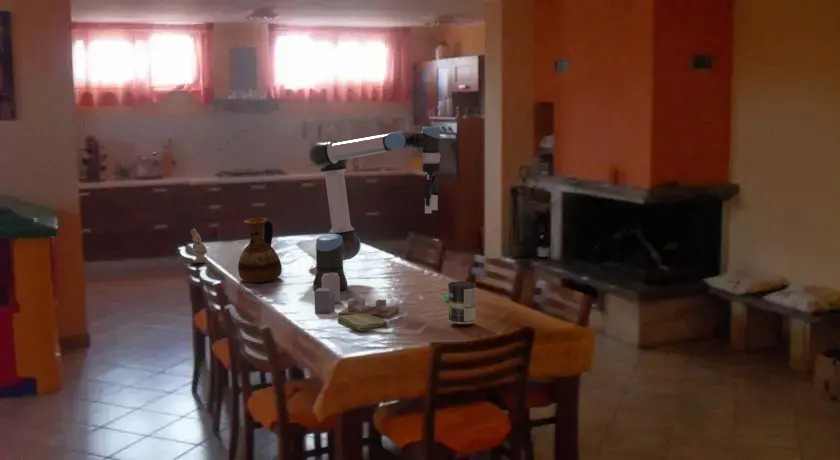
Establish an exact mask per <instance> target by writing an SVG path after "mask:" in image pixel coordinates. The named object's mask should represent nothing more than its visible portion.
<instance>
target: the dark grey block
mask: <svg viewBox="0 0 840 460" xmlns="http://www.w3.org/2000/svg"><path fill="white" fill-rule="evenodd" d="M313 293H314V314H318V315H319V314H320V315H323V314H324V315H330V314H332V313H334V312H335V309H336V308H335V304H336V303H334V288H318V289H317V290H315V289H314V292H313Z"/></svg>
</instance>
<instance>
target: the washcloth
mask: <svg viewBox="0 0 840 460" xmlns="http://www.w3.org/2000/svg"><path fill="white" fill-rule="evenodd" d="M337 323H338V324H340V325H343V326H344V327H346V328H349V329H352V330H355V331H358V332H359V331H360V332H361V331H363V332H364V331H368V330H375V329H377V328H380V327H387V326H388V322H387V320H385V319H384V318H379V317H376V316H372V315H370V314H367V313H365V314H364V313H363V314H355V315H344V316H339V315H338V318H337Z"/></svg>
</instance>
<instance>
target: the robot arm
mask: <svg viewBox="0 0 840 460" xmlns="http://www.w3.org/2000/svg"><path fill="white" fill-rule="evenodd" d="M440 145H441V135H440V128H439V127H438V126H423V127H422V128H421V130H419V131H414V130H412V131H411V130H409V131H408V130H402V131H392V132H389V133H386V134H379V135H372V136H367V137H362V138H357V139H352V140H345V141H339V140H328V141H327V140H326V141H319V142H316V143H314V144H313V145H312V146H311V148H309V149H310V150H309V153H308V154H309V160H310V162H311V164H313V165H314V166H315V167H317V168H320V172H321V174H322V175H324V177H325V179H324V180H325V184H326V185H325V186H326V191H327V192H326V194H327V201H328V208H329V216H330V223H331V229H330V230H329V233H328V234H322V235H319V236H318V237H317V238H316V241H315V242H316V243H315V251H316V254H315V256H316V273H315V276H314V278H313V279H314V280H313V284H312V285H313V286H312V288H313V289H314V291H315V290H317V289H318V288H322V281H321V278H322V276H323V274H324V273H338V276H339V277H340V291H341V290H346V289H348V280H347V278H346V274H345V271H344V261H348V260H351V259H353V258H355V257H356V256H357V255H358V254H359V252H360V251H361V247H362V245H361V240H360V237H359V236H357V234H356V232H355V231H356V230H355V228H354V227H353V226H352V225H351V219H350V210H349V202H348V194H347V187H346V178H345V173H346V171H347V163H348V160H349V159H354V158H360V157H366V156H370V155H377V154H383V153H387V152H395V151H399V150H415V149H418V150H419V149H420V150H421V149H422V156H421V157H422V160H421V161H422V172H423V173H427V174H425V175H424V176H425V178H424V180H425V181H424V189H423V190H424V192H423V195H422V198H423V199H424V214H432V211H438V210H439V209H438V207H439V205H438V201H439V197H438V196H439V195H440V192H439V184H438V173H440V171H441V164H440V161H441V157H442V155H441V154H440V153H441V151H440V149H441V146H440Z"/></svg>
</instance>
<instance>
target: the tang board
mask: <svg viewBox="0 0 840 460" xmlns="http://www.w3.org/2000/svg"><path fill="white" fill-rule="evenodd" d="M399 309H400V307H399V306H396V307H395V306H387V299H379V298H378V299H377V300H375V306H372V305H370V306H368V305H366V298H364V297H351V298H349V299H347V307H345V308H344V309H342V310H340V311H339V312H338V317H339V316H344V315H355V314H363V313H364V314H365V313H367V314H370V315H372V316H376V317H379V318H383V319H384V320H385V319H388V320H389V319H390V318H392V317H393V316H394V315H395V314H397V313H398V312H399Z"/></svg>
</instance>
